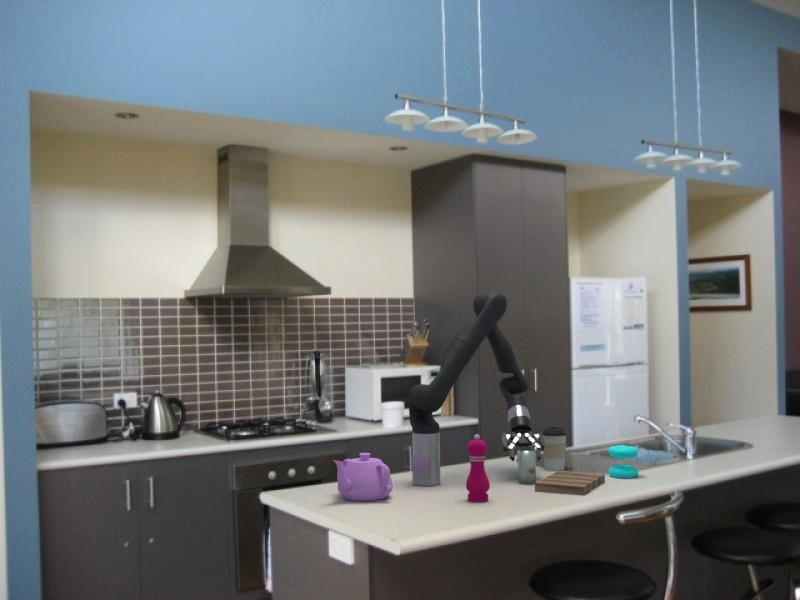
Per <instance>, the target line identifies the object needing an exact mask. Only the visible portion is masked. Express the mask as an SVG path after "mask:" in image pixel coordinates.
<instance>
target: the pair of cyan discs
mask: <svg viewBox="0 0 800 600" xmlns="http://www.w3.org/2000/svg"><path fill="white" fill-rule="evenodd" d="M607 453H608V454H609V456H610V457H611V458H615V459H621V460H629V459H634V458H635V457H636V456H638V454H639V450H638V448H637V447H635V446H630V445H612V446H610V447H608V451H607ZM608 474H609V476H611V477H612V478H616V477H617V478H618V479H631V478H632V479H633V477H634V478H637V476H638V475H639V470H638V468H637V467H635V466H634V465H629V464H615V465H612V466H611V467H609V469H608ZM617 478H616V479H617Z"/></svg>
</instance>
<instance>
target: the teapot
mask: <svg viewBox="0 0 800 600" xmlns="http://www.w3.org/2000/svg"><path fill="white" fill-rule="evenodd" d="M358 455H359V457H357V458H346V459H343V460H342V461H340V460H336V459H332V462H334V463H335V464H336V469H337V473H336V475H337V476H336V480H337V492H338V493H339V494H340V495H341V497H343V498H344V499H346V500H348V501H349V500H350V501H359V502H360V501H361V502H367V503H368V502H370V501H377V500H381V499H385V498H387V497H389V495H390V494H391V493H392V491H393V488H394V485H393V478H392V477H391V472H390V467H389V466H388V465H387V464H385V463H384V462H383V460H381V458H376V457H371V453H369V452H360V453H359V454H358Z"/></svg>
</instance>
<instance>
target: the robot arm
mask: <svg viewBox="0 0 800 600" xmlns="http://www.w3.org/2000/svg"><path fill="white" fill-rule="evenodd" d="M472 307H473V308H472V309H473V311H474V314H475V316H476V318H475V319H474V320H473V321H471V322H470V323H469V324H468V325H467V326H465V327H464V328H462V329H461V330H460V331H459V332H457V333H456V334H455V335H454V336H453V337H452V339H451V340H450V341H449V343H448V344H447V345H446V347H445V349H444V351H443V353H442V359H441V362H440V363H441V365H440V368H439V371H438V373H437V374H436V376H435V377H434V379H433V380H432V381H431V382H430V383H429V384H423V383H422V384H415V385H414V386H413V387H412V388H411V389H410V391H409V393H408V395H409V396H408V415H409V416H408V417H409V424H410V425H411V426H410V427H411V431H412V432H411V434H412V439H411V440H412V457H411V465H412V467H411V468H412V470H411V472H412V475H411V476H412V481H411V482H412V486H420V487H432V486H438V485H440V484H441V444H440V443H441V435H440V434H441V433H440V430H441V429H440V423H439V422H437V421H436V420H435V418H434V416H433V413H436V412H438V411H439V410H440V409H441V407H442V406H443V405H444V404H445V401H446V400H447V398H448V396H449V394H450V392H451V390H452V388H453V387H454V385H455V383H456V381H457V380H458V378H459V377H460V376H461V374H462V373H463V372H464V369H465V368H466V366H468V364H469V363H470V361H471V359H472V358H473V356H474V355H475V354H476V352H477V350H479V349H478V348H479V347H480V346H481V344H482V343H483V341H484V340H485V339H486V338H487V341H488V343H489V345H490V348H491V350H492V353H493V356H494V359H495V363H496V365H497V369H498V371H499V372H500V373H502V374H512V375H511V376H508V377H507V376H506V377H503V378H501V379H500V381H499V383H498V389H499V392H500V393H501V395H502V397H503V399H504V400H505V403H506V408H507V419H508V424H509V432H510V434H506V432H503V433H502V435H501V441H502V451H503V452H508V456H509V460H511V462H515V457H516V456H515V453H514V450H515V449H516V448H517V447H519V448H521V447H529V448H530V449H535V450H536V462H538V461H540V460H541V458H542V452H543V450H544V449H545V442H544V438H543V434H542V431H541V432H540V431H539V432H538V433H537V434H534V432H533V428H532V423H531V422H532V421H531V416H530V412H529V409H528V403H527V398H526V397H525V396H524V395H523V394H525V393H527V392H528V391H529V385H530V384H529V381H528V379H527V377H526V376H525V373H523V371H522V370H521V368H520V367H519V364H518V363H517V359H516V356H515V353H514V350H513V347H512V345H511V343H510V341H509V340H508V338H506V336H505V335H504V333H503V332H502V331H501V330H500V327H499V326H498V324H497V323H498V322H499V321H500V320H501V319H502V318H503V316H504V315H505V313H506V312H507V311H506V310H507V308H508V300H507V298H506V296H505V295H504V294H502V293H499V292H481V293H478V294H476V296H475V297H474V298H473V302H472ZM535 439H536V440H535ZM509 440H511V441H512V442H511V443H510V445H508V441H509ZM537 441H538V442H537ZM541 451H542V452H541Z"/></svg>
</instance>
